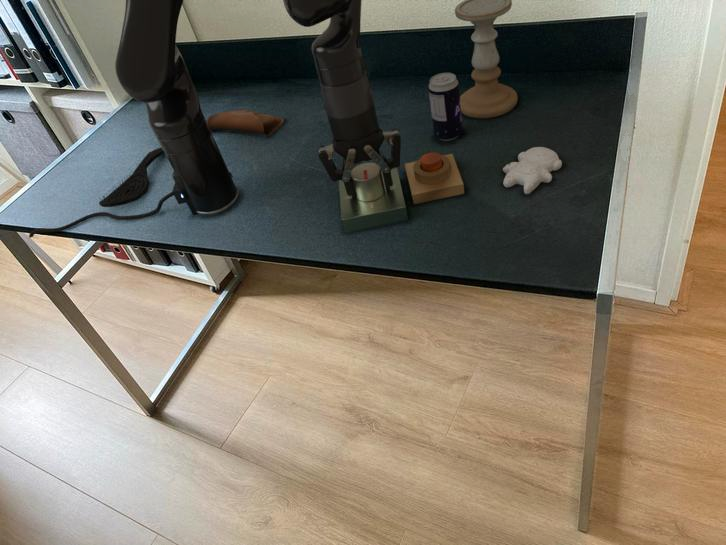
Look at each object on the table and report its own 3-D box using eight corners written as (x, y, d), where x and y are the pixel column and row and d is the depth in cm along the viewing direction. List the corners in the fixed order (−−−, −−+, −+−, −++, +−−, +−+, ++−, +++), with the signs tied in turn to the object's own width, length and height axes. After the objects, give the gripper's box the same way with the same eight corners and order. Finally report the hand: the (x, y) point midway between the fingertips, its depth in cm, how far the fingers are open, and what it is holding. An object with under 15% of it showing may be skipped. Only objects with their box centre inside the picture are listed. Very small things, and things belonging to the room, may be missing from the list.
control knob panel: (345, 233, 92) (341, 219, 90) (342, 193, 101) (338, 179, 98) (408, 220, 91) (405, 205, 89) (399, 181, 100) (397, 166, 97)
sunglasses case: (286, 117, 126) (271, 102, 120) (277, 144, 125) (261, 130, 119) (229, 113, 135) (211, 99, 129) (220, 138, 134) (202, 125, 128)
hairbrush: (175, 137, 125) (119, 199, 108) (182, 151, 128) (128, 214, 110) (146, 140, 128) (85, 201, 110) (153, 154, 130) (95, 215, 112)
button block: (413, 204, 94) (410, 186, 91) (406, 173, 101) (403, 155, 98) (464, 194, 93) (462, 175, 90) (453, 163, 100) (451, 144, 97)
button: (423, 174, 93) (422, 165, 92) (420, 163, 96) (419, 154, 95) (443, 169, 93) (442, 161, 92) (440, 158, 96) (439, 150, 94)
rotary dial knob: (355, 187, 96) (349, 164, 92) (383, 181, 95) (378, 158, 92) (356, 204, 92) (350, 181, 89) (386, 198, 91) (381, 175, 88)
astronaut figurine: (490, 183, 93) (489, 169, 91) (529, 149, 98) (529, 134, 96) (534, 199, 88) (534, 184, 86) (573, 162, 93) (574, 147, 91)
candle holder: (528, 94, 112) (529, -7, 98) (498, 123, 107) (495, 20, 93) (477, 86, 119) (471, -10, 105) (446, 113, 114) (436, 15, 100)
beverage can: (462, 142, 105) (457, 84, 96) (433, 144, 106) (425, 87, 98) (463, 126, 108) (459, 70, 100) (435, 129, 110) (429, 73, 102)
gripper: (391, 82, 84) (407, 170, 96) (303, 103, 85) (330, 188, 97) (398, 103, 79) (414, 195, 90) (304, 126, 80) (331, 213, 92)
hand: (370, 191), depth 94 cm, fingers closed on rotary dial knob, 5 cm apart
